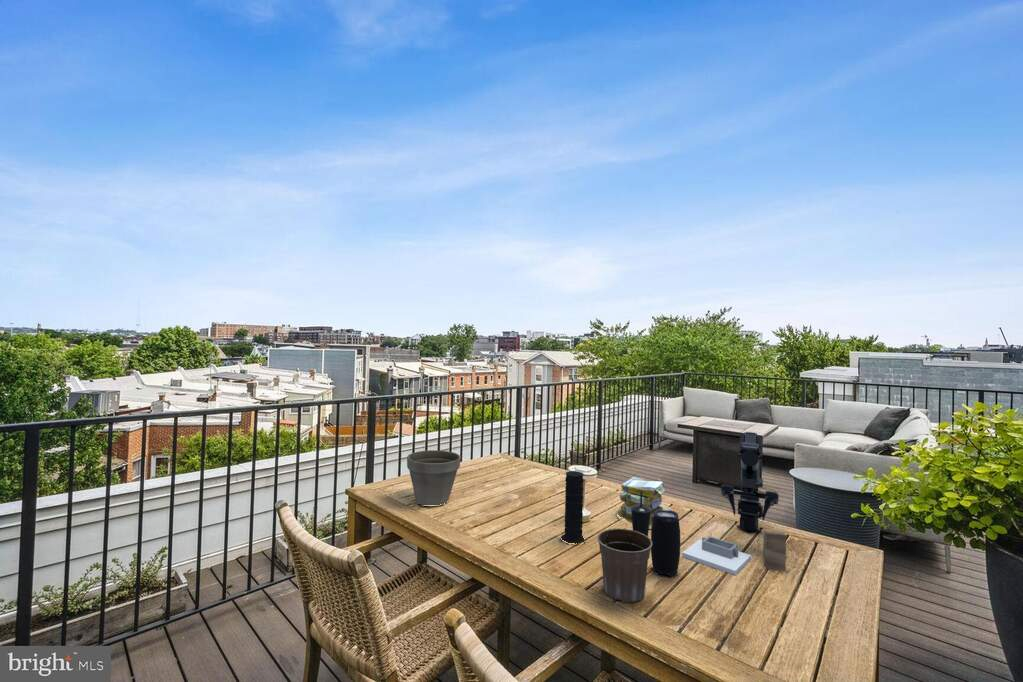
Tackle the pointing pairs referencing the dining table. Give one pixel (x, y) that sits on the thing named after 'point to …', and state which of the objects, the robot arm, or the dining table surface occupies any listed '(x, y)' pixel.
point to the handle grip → (573, 507)
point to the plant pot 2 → (624, 563)
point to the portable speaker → (665, 542)
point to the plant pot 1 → (433, 475)
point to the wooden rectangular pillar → (774, 550)
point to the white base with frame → (717, 554)
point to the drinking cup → (641, 517)
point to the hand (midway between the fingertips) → (748, 517)
